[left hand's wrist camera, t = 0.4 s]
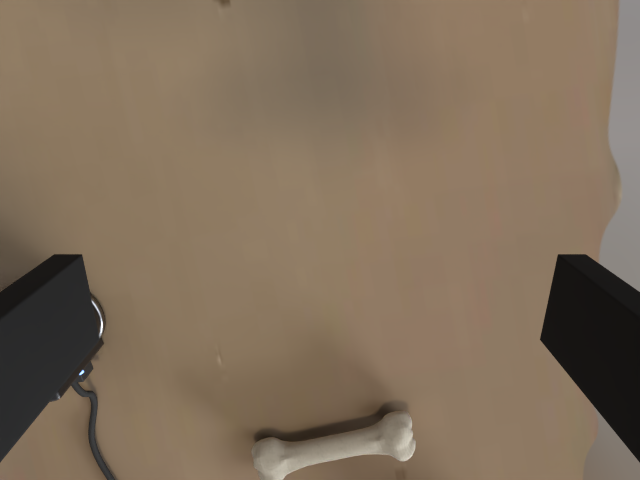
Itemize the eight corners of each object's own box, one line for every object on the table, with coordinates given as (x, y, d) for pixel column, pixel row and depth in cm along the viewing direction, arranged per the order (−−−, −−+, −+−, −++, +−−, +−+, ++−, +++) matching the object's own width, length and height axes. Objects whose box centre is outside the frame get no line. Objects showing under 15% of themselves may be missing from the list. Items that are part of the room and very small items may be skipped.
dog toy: (265, 466, 59) (260, 500, 54) (250, 431, 57) (244, 463, 52) (415, 435, 57) (423, 467, 52) (406, 398, 55) (414, 428, 50)
